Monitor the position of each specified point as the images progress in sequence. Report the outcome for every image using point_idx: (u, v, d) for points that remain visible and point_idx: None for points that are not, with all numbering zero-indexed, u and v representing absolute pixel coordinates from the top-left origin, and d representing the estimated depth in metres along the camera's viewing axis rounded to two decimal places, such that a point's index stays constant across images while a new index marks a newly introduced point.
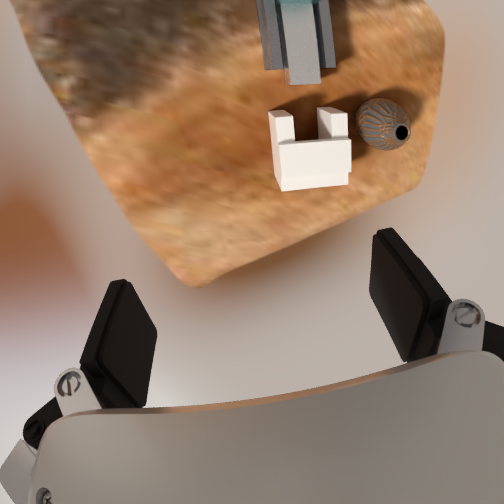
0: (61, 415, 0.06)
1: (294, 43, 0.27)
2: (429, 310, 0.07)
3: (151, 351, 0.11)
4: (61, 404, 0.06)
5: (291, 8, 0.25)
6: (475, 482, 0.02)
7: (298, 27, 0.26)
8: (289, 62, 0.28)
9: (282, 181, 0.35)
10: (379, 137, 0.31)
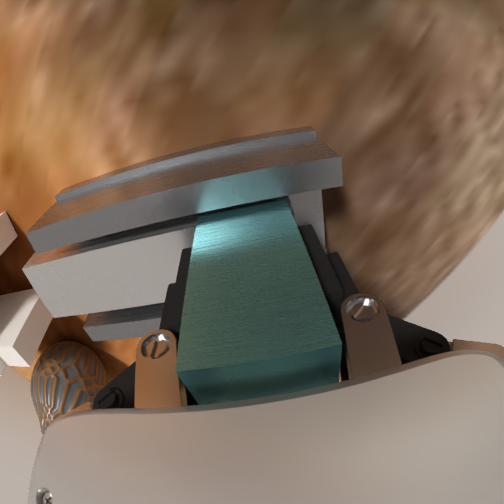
0: (135, 371, 0.08)
1: (100, 268, 0.13)
2: None
3: None
4: (138, 364, 0.07)
5: None
6: (475, 482, 0.02)
7: (144, 272, 0.13)
8: (57, 262, 0.12)
9: None
10: (35, 403, 0.16)
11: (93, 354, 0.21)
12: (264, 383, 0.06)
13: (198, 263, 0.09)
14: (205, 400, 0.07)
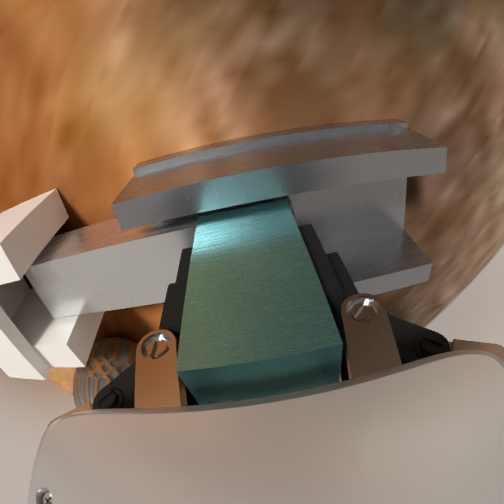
0: (135, 371, 0.08)
1: (100, 267, 0.13)
2: None
3: None
4: (138, 364, 0.07)
5: None
6: (475, 482, 0.02)
7: (144, 272, 0.13)
8: (57, 262, 0.12)
9: None
10: None
11: None
12: (264, 383, 0.06)
13: (198, 263, 0.09)
14: (206, 400, 0.07)
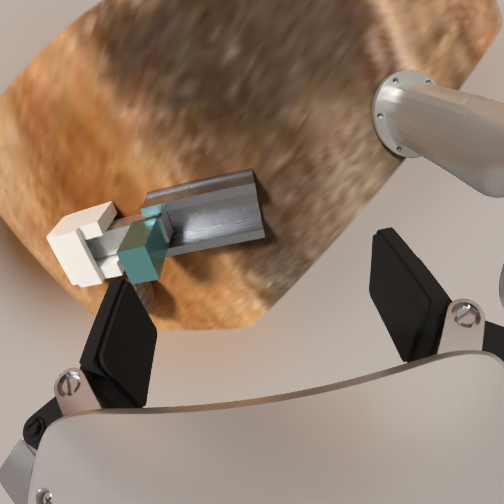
0: (61, 415, 0.06)
1: (102, 239, 0.36)
2: (429, 310, 0.07)
3: (151, 351, 0.11)
4: (61, 404, 0.06)
5: None
6: (475, 482, 0.02)
7: (117, 240, 0.37)
8: None
9: (53, 236, 0.33)
10: None
11: None
12: (133, 256, 0.30)
13: (127, 234, 0.33)
14: (123, 263, 0.30)
